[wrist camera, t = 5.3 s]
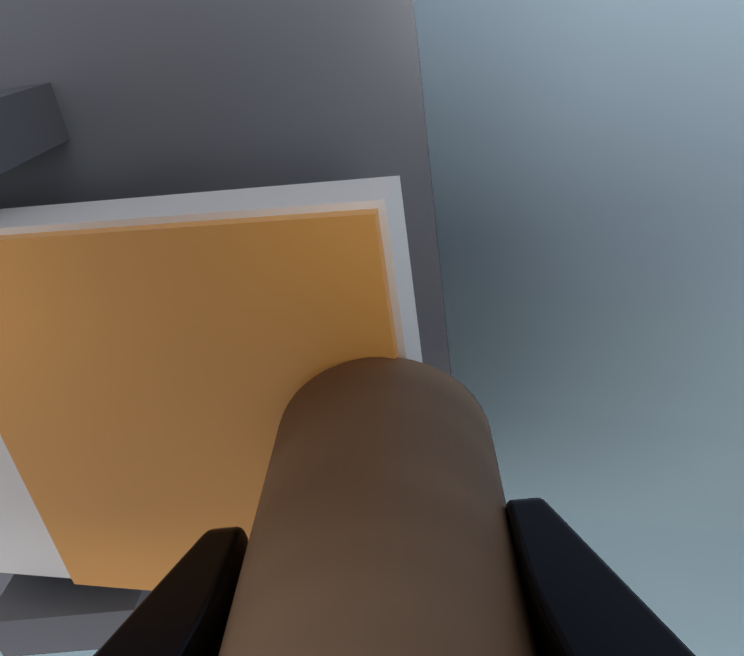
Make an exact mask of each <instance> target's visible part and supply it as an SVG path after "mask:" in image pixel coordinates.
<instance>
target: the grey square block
mask: <svg viewBox="0 0 744 656" xmlns="http://www.w3.org/2000/svg"><path fill="white" fill-rule="evenodd" d="M399 175H400V183H401V191H402V199H403V207H404V215H405V223H406V231H407V239H408V248H409V256H410V264H411V272H412V280H413V288H414V296H415V304H416V313H417V321H418V329H419V337H420V345H421V353H422V361H423V363H425V364H428V365H430V366H433V367H435V368H437V369H439V370H442V371H443V372H445V373H447V374H448V375H450V376H451V370H450V360H449V350H448V340H447V331H446V321H445V311H444V301H443V291H442V281H441V271H440V261H439V251H438V242H437V232H436V222H435V212H434V202H433V192H432V182H431V172H430V162H429V153H428V143H427V133H426V123H425V113H424V103H423V93H422V83H421V73H420V64H419V54H418V44H417V34H416V24H415V14H414V4H413V0H0V209H5V208H17V207H29V206H41V205H53V204H65V203H77V202H89V201H101V200H113V199H124V198H136V197H148V196H160V195H172V194H184V193H196V192H208V191H220V190H232V189H244V188H256V187H268V186H280V185H291V184H303V183H315V182H327V181H339V180H351V179H363V178H375V177H387V176H399ZM150 592H151V591H149V590H138V589H126V588H114V587H102V586H90V585H78V584H74V583H73V581H72V579H71V578H60V577H47V576H35V575H23V574H11V573H0V651H1V652H2V654H3V656H23V655H35V654H47V653H59V652H71V651H82V650H94V649H100V647H101V646H102V645H103V644H104V643H105V642H106V641H107V640H108V639H109V638H110V636H111V635H112V634H113V633H114V632H115V631H116V630H117V629H118V628H119V627H120V625H121V624H122V623H123V622H124V621H125V620H126V619H127V618H128V617H129V616H130V614H131V613H132V612H133V611H134V610H135V609H136V608H137V607H138V606H139V605H140V603H141V602H142V601H143V600H144V599H145V598H146V597H147V596H148V595H149V593H150Z"/></svg>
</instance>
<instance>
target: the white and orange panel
mask: <svg viewBox="0 0 744 656" xmlns="http://www.w3.org/2000/svg"><path fill="white" fill-rule="evenodd" d="M368 357H386V358H392V359H395V358H396V357H398V358H404V359H410V360H415V361H418V362H421V363H423V361H422V353H421V345H420V337H419V329H418V321H417V313H416V304H415V296H414V288H413V280H412V272H411V264H410V256H409V248H408V239H407V231H406V223H405V215H404V207H403V199H402V191H401V183H400V175H399V176H387V177H375V178H363V179H351V180H339V181H327V182H315V183H303V184H291V185H280V186H268V187H256V188H244V189H232V190H220V191H208V192H196V193H184V194H172V195H160V196H148V197H136V198H124V199H113V200H101V201H89V202H77V203H65V204H53V205H41V206H29V207H17V208H5V209H0V573H11V574H23V575H35V576H47V577H60V578H71V579H72V581H73V583H74V584H78V585H90V586H102V587H114V588H126V589H138V590H149V591H152V590H153V589H154V588H155V587H156V586H157V585H158V584H159V582H160V581H161V580H162V579H163V578H164V577H165V576H166V575H167V574H168V573H169V571H170V570H171V569H172V568H173V567H174V566H175V565H176V564H177V563H178V562H179V560H180V559H181V558H182V557H183V556H184V555H185V554H186V553H187V552H188V551H189V549H190V548H191V547H192V546H193V545H194V544H195V543H196V542H197V541H198V539H199V538H200V537H201V536H202V535H203V534H204V533H205V532H207V531H208V530H210V529H215V528H226V527H241V528H242V529H243V530H244V531H245V533H246V535H247V537H248V540H249V537H250V534H251V530H252V526H253V522H254V518H255V515H256V511H257V507H258V503H259V499H260V496H261V492H262V488H263V484H264V481H265V477H266V473H267V469H268V465H269V462H270V458H271V454H272V450H273V446H274V443H275V439H276V435H277V431H278V428H279V424H280V421H281V418H282V415H283V413H284V411H285V409H286V407H287V405H288V403H289V402H290V400H291V399H292V398H293V396H294V395H295V393H296V392H297V391H298V390H299V389H300V388H301V387H302V386H303V385H304V384H305V383H307V382H308V381H309V380H311V379H312V378H313V377H315V376H316V375H318V374H320V373H321V372H323V371H325V370H327V369H329V368H331V367H333V366H336V365H338V364H341V363H344V362H348V361H351V360H355V359H361V358H368Z"/></svg>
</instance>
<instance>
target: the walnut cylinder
mask: <svg viewBox="0 0 744 656" xmlns="http://www.w3.org/2000/svg"><path fill="white" fill-rule="evenodd" d="M505 507H506V502H505V497H504V492H503V487H502V483H501V478H500V473H499V468H498V463H497V458H496V454H495V449H494V444H493V439H492V434H491V430H490V426H489V423H488V420H487V417H486V415H485V413H484V411H483V409H482V407H481V405H480V404H479V402H478V401H477V400H476V398H475V397H474V395H473V394H472V393H471V392H470V391H469V390H468V389H467V388H466V387H465V386H464V385H462V384H461V383H460V382H459V381H457V380H456V379H455V378H453V377H452V376H450V375H448V374H447V373H445V372H443V371H442V370H439V369H437V368H435V367H433V366H430V365H428V364H425V363H421V362H418V361H415V360H410V359H404V358H398V357H396V358H395V359H392V358H386V357H368V358H361V359H355V360H351V361H348V362H344V363H341V364H338V365H336V366H333V367H331V368H329V369H327V370H325V371H323V372H321V373H320V374H318V375H316V376H315V377H313V378H312V379H311V380H309V381H308V382H307V383H305V384H304V385H303V386H302V387H301V388H300V389H299V390H298V391H297V392H296V393H295V395H294V396H293V398H292V399H291V400H290V402H289V403H288V405H287V407H286V409H285V411H284V413H283V415H282V418H281V421H280V424H279V428H278V431H277V435H276V439H275V443H274V446H273V450H272V454H271V458H270V462H269V465H268V469H267V473H266V477H265V481H264V484H263V488H262V492H261V496H260V499H259V503H258V507H257V511H256V515H255V518H254V522H253V526H252V530H251V534H250V537H249V541H248V545H247V549H246V553H245V556H244V560H243V564H242V568H241V571H240V575H239V579H238V583H237V587H236V590H235V594H234V598H233V602H232V606H231V609H230V613H229V617H228V621H227V625H226V628H225V632H224V636H223V640H222V643H221V647H220V651H219V655H218V656H537V651H536V646H535V641H534V636H533V632H532V628H531V624H530V619H529V615H528V611H527V607H526V602H525V597H524V593H523V588H522V583H521V579H520V574H519V570H518V565H517V560H516V556H515V551H514V547H513V542H512V537H511V533H510V528H509V523H508V519H507V514H506V510H505Z"/></svg>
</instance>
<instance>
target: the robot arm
mask: <svg viewBox="0 0 744 656" xmlns="http://www.w3.org/2000/svg"><path fill="white" fill-rule="evenodd" d="M505 510H506V514H507V519H508V523H509V528H510V533H511V537H512V542H513V547H514V551H515V556H516V560H517V565H518V570H519V574H520V579H521V583H522V588H523V593H524V597H525V602H526V607H527V611H528V615H529V619H530V624H531V628H532V632H533V636H534V641H535V646H536V651H537V656H695V655H694V654H693V653H692V651H691V650H690V649H689V648H688V647H687V646H686V645H685V644H684V643H683V642H682V641H681V640H680V639H679V638H678V637H677V636H676V635H675V634H674V633H673V632H672V631H671V630H670V629H669V628H668V627H667V626H666V625H665V624H664V623H663V622H662V621H661V620H660V619H659V618H658V617H657V616H656V614H655V613H654V612H653V611H652V610H651V609H650V608H649V607H648V606H647V605H646V604H645V603H644V602H643V601H642V600H641V599H640V598H639V597H638V596H637V595H636V594H635V593H634V592H633V591H632V590H631V589H630V588H629V587H628V586H627V585H626V584H625V583H624V582H623V581H622V580H621V579H620V577H619V576H618V575H617V574H616V573H615V572H614V571H613V570H612V569H611V568H610V567H609V566H608V565H607V564H606V563H605V562H604V561H603V560H602V559H601V558H600V557H599V556H598V555H597V554H596V553H595V552H594V551H593V550H592V549H591V548H590V547H589V546H588V545H587V544H586V543H585V542H584V541H583V539H582V538H581V537H580V536H579V535H578V534H577V533H576V532H575V531H574V530H573V529H572V528H571V527H570V526H569V525H568V524H567V523H566V522H565V521H564V520H563V519H562V518H561V517H560V516H559V515H558V514H557V513H556V512H555V511H554V510H553V509H552V508H551V507H550V506H549V505H548V504H547V502H545V501H544V500H543V499H541V498H528V499H517V500H510V501H509V502H507V504H506V507H505ZM248 541H249V540H248V537H247V535H246V533H245V531H244V530H243V529H242V528H241V527H226V528H215V529H210V530H208V531H207V532H205V533H204V534H203V535H202V536H201V537H200V538H199V539H198V541H197V542H196V543H195V544H194V545H193V546H192V547H191V548H190V549H189V551H188V552H187V553H186V554H185V555H184V556H183V557H182V558H181V559H180V560H179V562H178V563H177V564H176V565H175V566H174V567H173V568H172V569H171V570H170V571H169V573H168V574H167V575H166V576H165V577H164V578H163V579H162V580H161V581H160V582H159V584H158V585H157V586H156V587H155V588H154V589H153V590H152V591H151V592H150V593H149V595H148V596H147V597H146V598H145V599H144V600H143V601H142V602H141V603H140V605H139V606H138V607H137V608H136V609H135V610H134V611H133V612H132V613H131V614H130V616H129V617H128V618H127V619H126V620H125V621H124V622H123V623H122V624H121V625H120V627H119V628H118V629H117V630H116V631H115V632H114V633H113V634H112V635H111V636H110V638H109V639H108V640H107V641H106V642H105V643H104V644H103V645H102V646H101V647H100V649H99V650H98V651H97V652H96V653H95V654H94V655H93V656H218V655H219V651H220V647H221V643H222V640H223V636H224V632H225V628H226V625H227V621H228V617H229V613H230V609H231V606H232V602H233V598H234V594H235V590H236V587H237V583H238V579H239V575H240V571H241V568H242V564H243V560H244V556H245V553H246V549H247V545H248Z"/></svg>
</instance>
